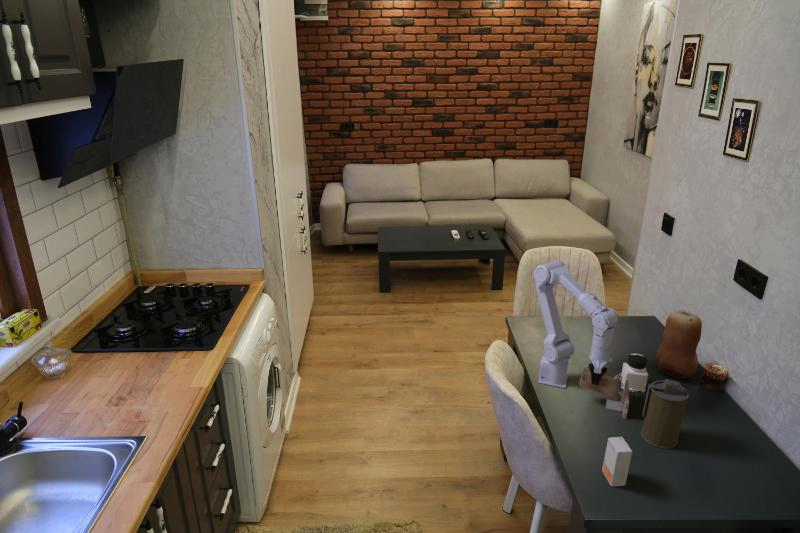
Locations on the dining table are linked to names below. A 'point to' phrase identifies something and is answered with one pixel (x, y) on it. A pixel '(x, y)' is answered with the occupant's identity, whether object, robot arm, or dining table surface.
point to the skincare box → (617, 461)
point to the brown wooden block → (601, 384)
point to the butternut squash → (679, 345)
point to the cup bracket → (615, 402)
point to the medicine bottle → (635, 372)
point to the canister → (664, 413)
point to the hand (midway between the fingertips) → (595, 380)
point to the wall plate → (626, 398)
